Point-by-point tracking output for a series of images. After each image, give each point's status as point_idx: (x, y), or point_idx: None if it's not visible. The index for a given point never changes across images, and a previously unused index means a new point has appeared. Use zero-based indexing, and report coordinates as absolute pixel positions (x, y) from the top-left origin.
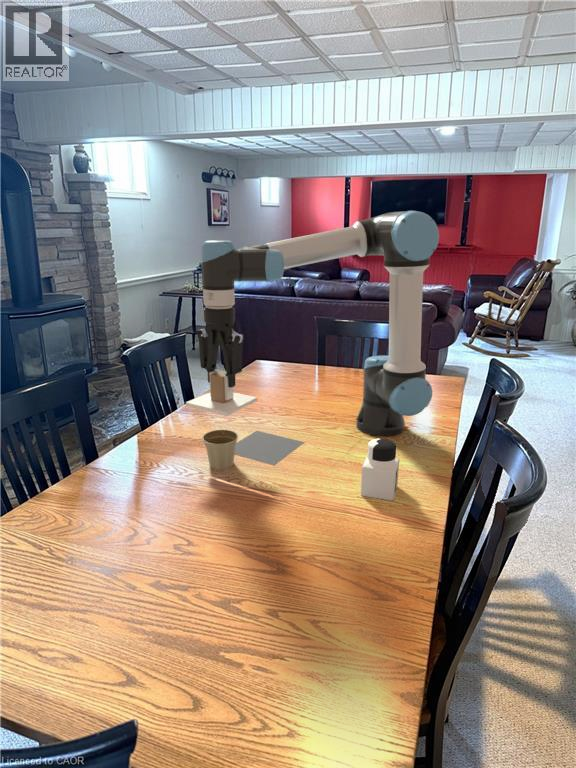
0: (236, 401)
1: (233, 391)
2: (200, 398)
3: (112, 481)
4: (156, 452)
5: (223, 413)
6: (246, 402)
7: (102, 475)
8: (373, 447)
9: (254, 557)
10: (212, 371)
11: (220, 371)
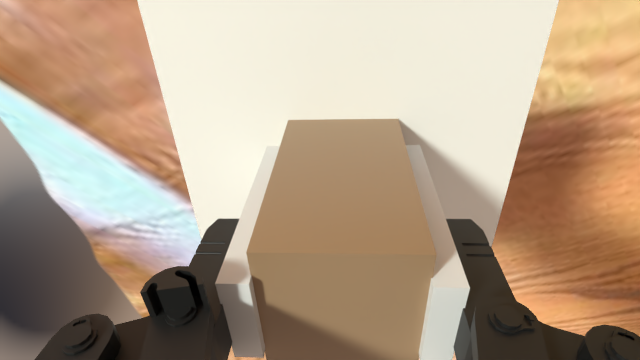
0: (446, 142)
1: (427, 168)
2: (219, 210)
3: (186, 248)
4: (112, 102)
5: None
6: (524, 124)
7: (145, 242)
8: None
9: (604, 296)
10: (231, 330)
11: (269, 266)
